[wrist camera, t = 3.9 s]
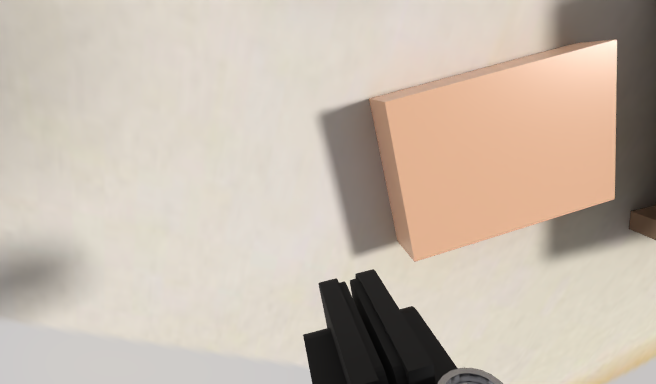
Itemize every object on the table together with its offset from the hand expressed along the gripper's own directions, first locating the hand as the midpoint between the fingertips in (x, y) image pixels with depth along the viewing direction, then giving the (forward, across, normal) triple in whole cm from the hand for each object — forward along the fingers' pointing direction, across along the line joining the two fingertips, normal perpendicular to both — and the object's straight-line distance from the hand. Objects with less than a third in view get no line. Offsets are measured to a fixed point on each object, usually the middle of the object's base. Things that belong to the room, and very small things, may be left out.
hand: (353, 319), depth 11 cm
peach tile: (+14, -13, 0) cm, 19 cm away
